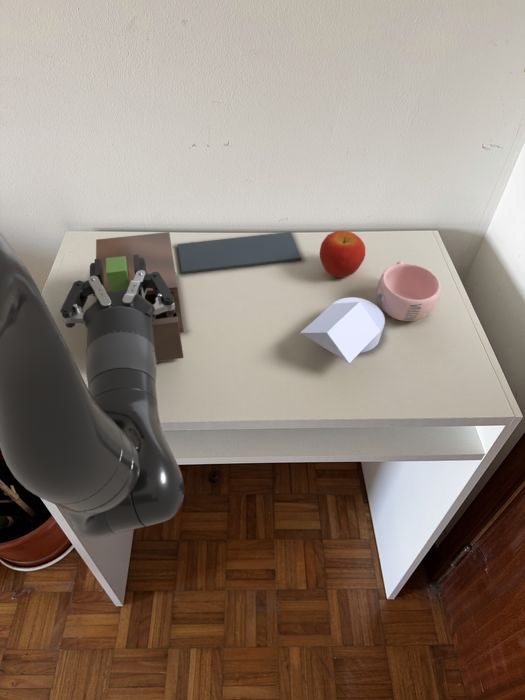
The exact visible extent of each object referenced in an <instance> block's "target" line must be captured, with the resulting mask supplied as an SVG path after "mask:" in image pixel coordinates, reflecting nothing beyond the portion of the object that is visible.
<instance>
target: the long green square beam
mask: <svg viewBox="0 0 525 700" xmlns="http://www.w3.org/2000/svg"><path fill="white" fill-rule="evenodd" d="M106 275H107V278H108V282H109V285H110V289H111V292H119V291H122V290H128V287H129V285H130V282H131V278H130V274H129V270H128V265H127V261H126V257H125V256H122V257H113V258H106Z"/></svg>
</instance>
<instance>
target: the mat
mask: <svg viewBox="0 0 525 700" xmlns="http://www.w3.org/2000/svg"><path fill="white" fill-rule="evenodd" d="M177 250H178V258H179V263H180V269H181V270H180V271H181V274H182V275H184V274H185V275H186V274H192V273H193V274H194V273H202V272H209V271H218V270H220V271H221V270H227V269H235V268H245V267H253V266H261V265H270V264H279V263H287V262H294V261H301V260H302V256H301V253H300V252H299V248H298V246H297V244H296V242H295V239H294V237H293V235H292V232H291V231H288V232H279V233H278V232H277V233H268V234H260V235H249V236H240V237H232V238H223V239H222V238H221V239H213V240H203V241H195V242H194V241H193V242H187V243H186V242H184V243H177Z"/></svg>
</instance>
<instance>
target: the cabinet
mask: <svg viewBox="0 0 525 700" xmlns="http://www.w3.org/2000/svg"><path fill="white" fill-rule="evenodd" d="M95 240H96V241H95V259H99V258H100V259H101V262H102V266H103V271H104V289H105V291H106V292H111V289H110V285H109V282H108V278H107V275H106V258H113V257H122V256H125V257H126V261H127V265H128V270H129V274H130V278H131V280H132V281H133V279H134V277H135V271H134V257H133V255H136V254H139V258H142V257H143V258H144V260H145V264H146V271H147V273H148V274H151V273H153V272H158V273H160V275H161V277H162V278H163V280H164V282H165V283H166V285H167V287H168V288H169V290H170V292H171V293H172V295H173V297H174V303H175V310H176V312H175V314H173V317H178V324H179V330H180V333H184V324H183V317H182V309H181V303H180V296H179V289H178V287H179V286H178V281H177V274H176V269H175V261H174V260H175V259H174V253H173V248H172V247H173V246H172V240H171V234H170V232H169V231H166V232H165V231H164V232H156V233H145V234H136V235H126V236H116V237H107V238H98V239H95ZM150 294H155V292H154V291H153V289H151V288H148V289H147V292H146V295H150Z"/></svg>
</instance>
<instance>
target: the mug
mask: <svg viewBox="0 0 525 700" xmlns="http://www.w3.org/2000/svg"><path fill="white" fill-rule="evenodd" d="M441 285H442V284H441V282H440V280H439V279H438V277H437V276H436V274H435V273H433V272H432V271H431V270H429V269H428V268H426V267H424V266H421V265H420V264H419V265H418V264H415V263H404V262H403V261H401V260H399V261H397V262H396V264H393V265H390V266H389V267H387V268H386V269H385V270H384V271H383V272H382V273H381V275H380V277H379V280H378V283H377V287H376V288H377V291H376V293H377V294H376V295H377V299H378V302H379V306H380V307H381V309H382V310H383V312H385V314H387V315H388V316H390V317H391V318H393V319H394V320H395V319H396V320H397V321H402V322H415V321H419V320H421V319H423V318H425V317H426V316H427V315H429V314H430V313H431V312H432V311H433V310H434V309H435V307H436V306H437V305H438V302H439V300H440V297H441V292H442V286H441Z"/></svg>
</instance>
